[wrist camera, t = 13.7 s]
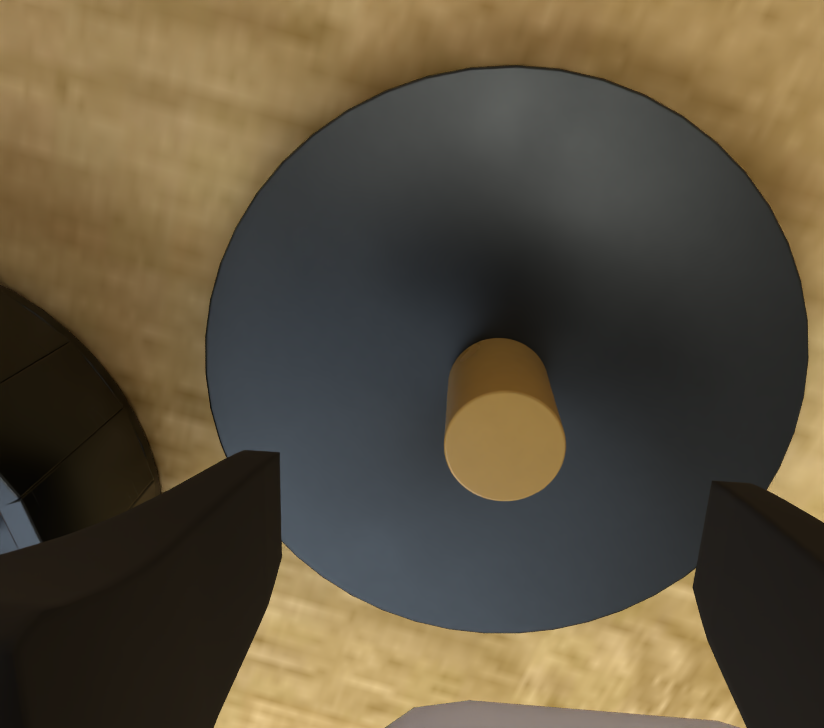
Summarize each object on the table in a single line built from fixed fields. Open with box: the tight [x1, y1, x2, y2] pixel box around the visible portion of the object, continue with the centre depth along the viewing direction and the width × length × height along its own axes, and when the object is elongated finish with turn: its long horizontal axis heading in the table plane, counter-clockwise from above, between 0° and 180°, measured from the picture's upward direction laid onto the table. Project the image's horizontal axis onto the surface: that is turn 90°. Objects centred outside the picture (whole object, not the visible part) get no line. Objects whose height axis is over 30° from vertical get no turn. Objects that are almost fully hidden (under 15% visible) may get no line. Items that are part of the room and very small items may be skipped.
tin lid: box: [205, 65, 808, 633], centre depth 17 cm, size 14×14×5 cm
